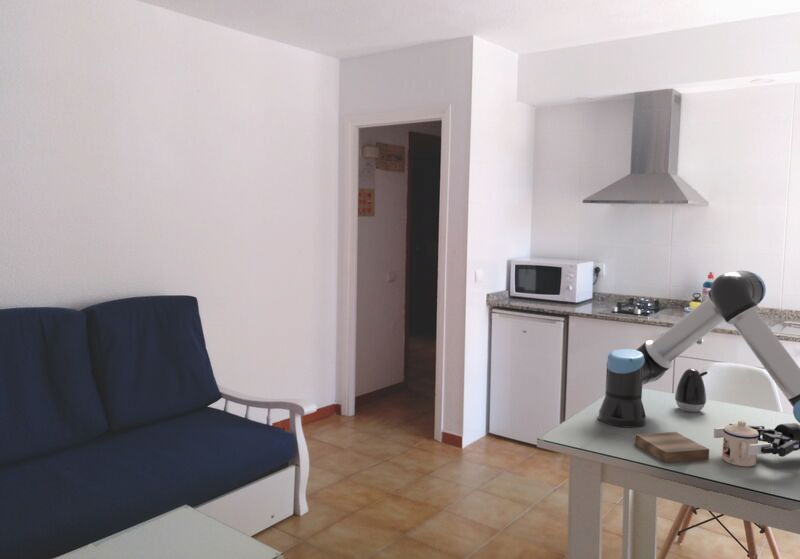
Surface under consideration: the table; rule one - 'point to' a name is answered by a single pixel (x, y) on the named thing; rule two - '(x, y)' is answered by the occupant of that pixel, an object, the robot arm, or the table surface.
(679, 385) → the pump dispenser
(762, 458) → the table surface
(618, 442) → the table surface
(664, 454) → the walnut stand
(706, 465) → the table surface
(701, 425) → the table surface
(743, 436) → the teacup with lid
